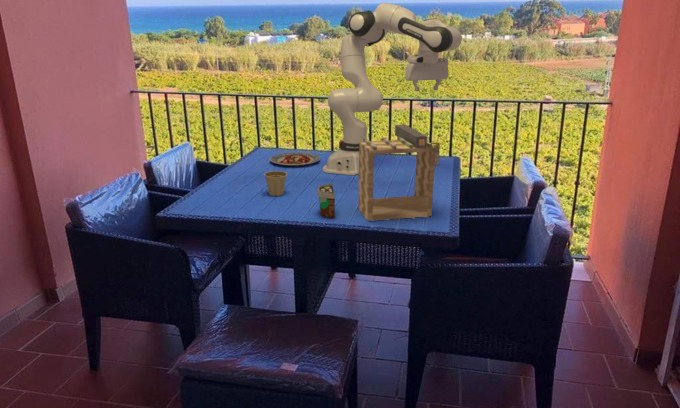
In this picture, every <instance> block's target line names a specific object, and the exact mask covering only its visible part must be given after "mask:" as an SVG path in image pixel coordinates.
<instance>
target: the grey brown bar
mask: <svg viewBox="0 0 680 408" xmlns="http://www.w3.org/2000/svg"><path fill="white" fill-rule="evenodd" d="M394 136H395V137H396V138H397V137H401V138H403V139H404V140H406V141H408V142H409V143H411V144H412V145H413V147H414V148H426V145H427V141H428V136H427V135H425V134H423V133H421V132H420V131H418V130H416V129H414V128H413V127H410V126H408V125H406V124H395V125H394Z"/></svg>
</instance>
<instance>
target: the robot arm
mask: <svg viewBox="0 0 680 408" xmlns="http://www.w3.org/2000/svg"><path fill="white" fill-rule="evenodd" d="M347 26H348V29H349V31H350V32H351V33H349V34H347V35H344V36H343V38H342V39H341V45H340V61H341V62H340V65H341V66H340V67H341V75H342V78H344V80H346V81H348V82H350V83H351V84H353V85H354V88H353V87H352V88H350V87H349V88H348V87H347V88H346V87H345V88H338V89H337V88H336V89H333V90H331V91H330V93H329V94H328V96H327V104H328V108H329V109H330V110H331V111H332V112H333V113H335V114H336V115H337V117H338V118H339V120H340V121H341V124H342V133H343V134H342V136H343V137H342V139H343V140H342V139H340V140H339V141H338V149H337V150H336V151H334V152H333V153H332V154H330V155H329V157H328V158H327V163H326V164H325V165H323V167H322V173H326V174H336V175H337V174H338V175H347V176H355V175H359V142H363V138H366V139H368V137H367V136H368V135H367V129H368V128H367V125H366V124H367V123H365V122H364V121H363V120H360V119H359V118H357V117H356V116H355V113H370V112H374V111H379V110H380V109H381V107H382V105H383V102H384V99H383V94H382V93H381V91H380V90H379V89H378V87H376V86H374V84H373V83H372V82H371V81H370V79H369V77H368V74H367V67H366V60H365V59H366V57H365V48H366V47H371V46H373V45H375V44H378V43H380V42H381V41H382V40H383V39H384V37H385V34H386V30H387V31H389V32H393V33H396V34H398V35H403V36H408V37H411V38H413V39H415V40H418V43H419V45H418V48H417V53H416V54H414V55H411V56H408V57H407V58H406V59H407V61H406V62H407V64H406V67H405V72H404V75H405V76H404V78H405V80H406V81H409V82H412V84H413V86H414V91H415V92H420V86H419V85H418V83H419V82H420V81H435V84H434V85H433V86H432V90H433V91H438V90H439V85H440V84H441V82H442V80H447V79H448V78H449V61H448V59H447V58H446V57H439V56H440V55H439V54H440V53H442V52H448V51H454V50H456V49H458V48H459V47H460V45H461V43H462V39H463V38H462V36H463V35H462V33H461V31H460V30H459V29H458V28H456V27H454V26H450V25H449V24H446V23H445V22H443V21H441V20H440V19H439V18H437V17H436V18H435V17H434V18H428V19H424V20H423V21H422V22H418V21H417V18H416V14H415V13H414V12H413V11H411V10H410V9H409V8H406V7H403V6H400V5H398V4H394V3H388V2H382V3H380V4H378V6H377V7H376V8H375V10H374V11H373V12H372V10H369V9H368V10H365V11H357V12H355V13H353V14H352V15H351V16H350V17H349V19H348V25H347ZM418 81H419V82H418Z"/></svg>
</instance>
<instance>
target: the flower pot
mask: <svg viewBox="0 0 680 408" xmlns="http://www.w3.org/2000/svg"><path fill="white" fill-rule="evenodd" d="M263 176H264V177H265V180H266V187H267V192H268V195H269V196H272V197H275V196H277V197H280V196H284V193H285V186H286V185H285V183H286V179H287V177H288V172H286V171H280V170H272V171H271V170H270V171H267V172H265V173H264V174H263Z"/></svg>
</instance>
